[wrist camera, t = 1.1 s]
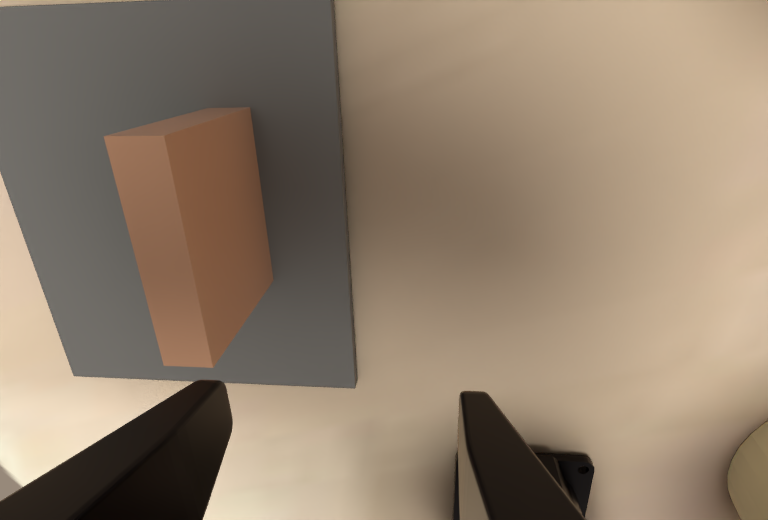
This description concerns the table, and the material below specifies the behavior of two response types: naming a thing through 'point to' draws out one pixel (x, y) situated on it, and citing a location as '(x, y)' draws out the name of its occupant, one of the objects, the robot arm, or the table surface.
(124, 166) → the tile
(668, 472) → the table surface
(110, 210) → the mat
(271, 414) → the table surface
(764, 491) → the reusable coffee cup
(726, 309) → the table surface
